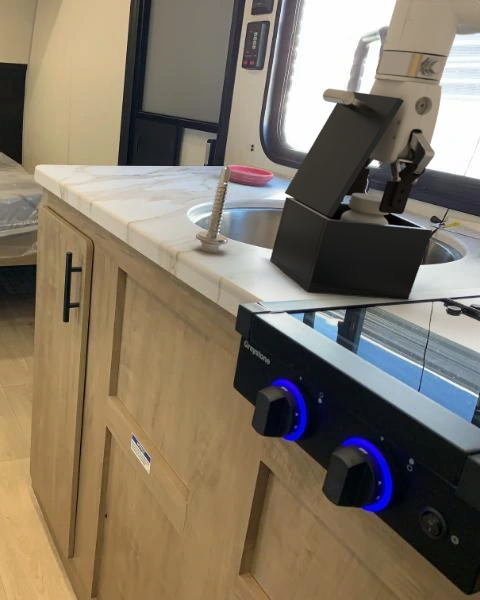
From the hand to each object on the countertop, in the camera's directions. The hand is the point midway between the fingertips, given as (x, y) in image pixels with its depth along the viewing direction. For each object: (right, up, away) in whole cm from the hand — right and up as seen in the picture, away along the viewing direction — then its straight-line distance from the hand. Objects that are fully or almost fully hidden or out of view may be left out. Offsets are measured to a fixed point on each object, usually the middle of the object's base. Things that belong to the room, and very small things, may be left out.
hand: (369, 203), depth 82 cm
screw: (-20, -6, +10) cm, 23 cm away
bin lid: (-5, +6, -3) cm, 9 cm away
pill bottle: (-1, -10, +4) cm, 11 cm away
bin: (-3, -10, +4) cm, 11 cm away
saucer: (+4, +17, +74) cm, 76 cm away
